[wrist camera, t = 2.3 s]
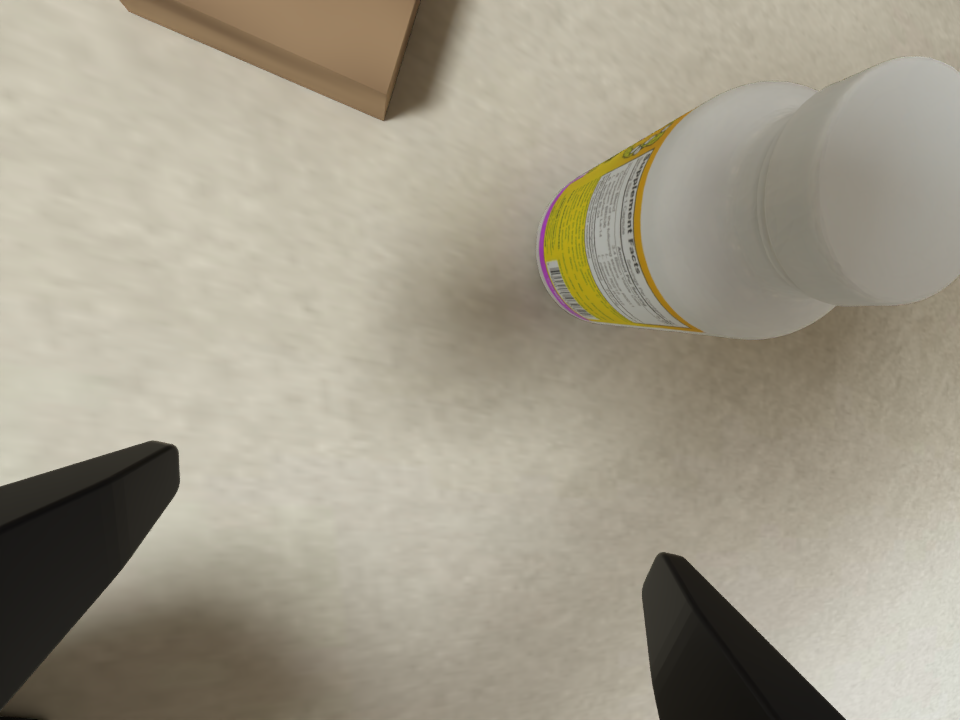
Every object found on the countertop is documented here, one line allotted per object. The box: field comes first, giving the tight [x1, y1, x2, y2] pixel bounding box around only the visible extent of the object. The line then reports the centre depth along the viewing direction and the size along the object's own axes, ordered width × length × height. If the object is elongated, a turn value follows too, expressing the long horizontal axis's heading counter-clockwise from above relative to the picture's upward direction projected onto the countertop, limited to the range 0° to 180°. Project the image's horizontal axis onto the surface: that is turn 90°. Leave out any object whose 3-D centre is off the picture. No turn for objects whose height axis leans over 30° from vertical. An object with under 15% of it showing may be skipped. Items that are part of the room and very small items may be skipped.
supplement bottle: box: [536, 56, 960, 340], centre depth 15 cm, size 7×7×13 cm
